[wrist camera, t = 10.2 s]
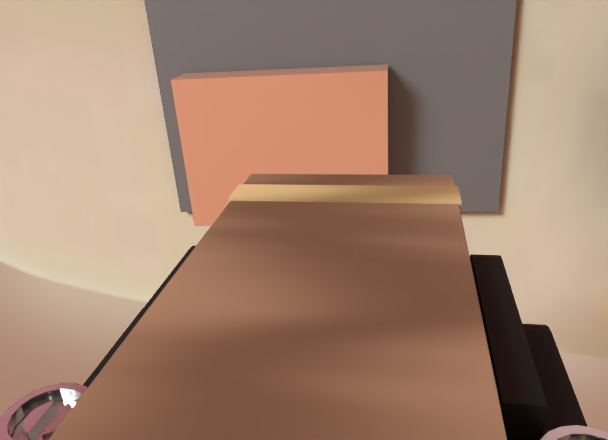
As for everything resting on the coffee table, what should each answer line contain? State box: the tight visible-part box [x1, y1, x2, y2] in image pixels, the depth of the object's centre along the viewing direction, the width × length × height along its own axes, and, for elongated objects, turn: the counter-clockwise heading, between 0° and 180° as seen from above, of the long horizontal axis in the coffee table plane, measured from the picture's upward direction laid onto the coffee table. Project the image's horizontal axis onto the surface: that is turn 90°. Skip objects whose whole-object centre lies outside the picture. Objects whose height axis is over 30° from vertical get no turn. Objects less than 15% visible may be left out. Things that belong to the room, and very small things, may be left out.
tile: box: [171, 64, 389, 226], centre depth 27 cm, size 10×2×8 cm
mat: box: [144, 0, 517, 212], centre depth 26 cm, size 17×17×1 cm
